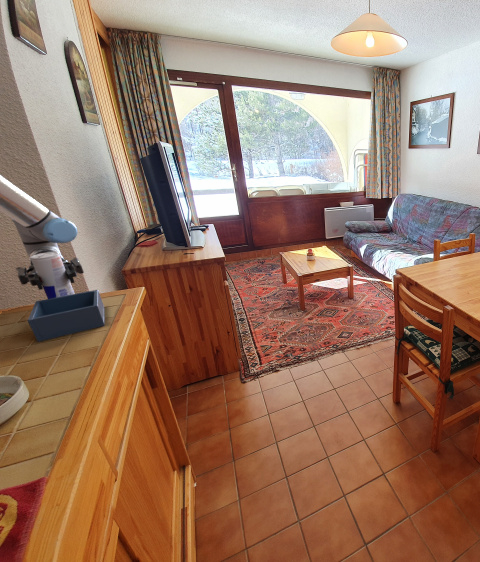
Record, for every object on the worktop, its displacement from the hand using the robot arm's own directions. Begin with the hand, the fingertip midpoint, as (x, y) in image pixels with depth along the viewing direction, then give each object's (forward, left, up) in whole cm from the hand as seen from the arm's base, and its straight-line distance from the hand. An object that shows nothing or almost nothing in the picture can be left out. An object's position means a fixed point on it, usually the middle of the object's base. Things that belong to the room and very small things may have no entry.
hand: (55, 281), depth 83 cm
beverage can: (-4, +4, -9) cm, 10 cm away
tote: (+5, -5, -10) cm, 13 cm away
